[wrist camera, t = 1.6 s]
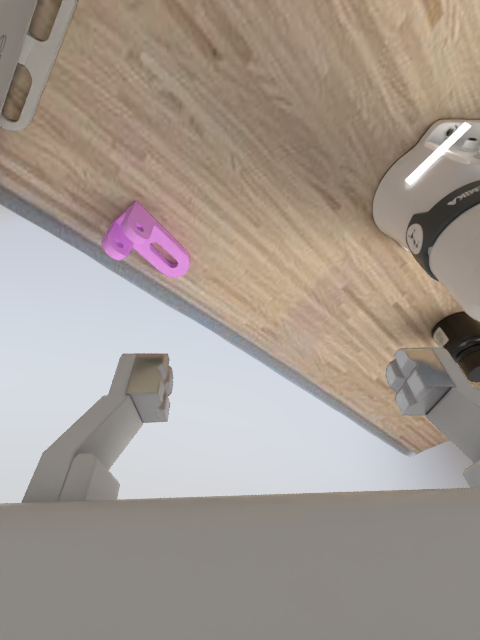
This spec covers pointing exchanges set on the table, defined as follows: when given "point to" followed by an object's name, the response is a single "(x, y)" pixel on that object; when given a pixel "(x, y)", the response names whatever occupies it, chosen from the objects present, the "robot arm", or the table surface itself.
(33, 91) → the network device
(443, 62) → the table surface
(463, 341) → the ink bottle
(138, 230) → the bracket
